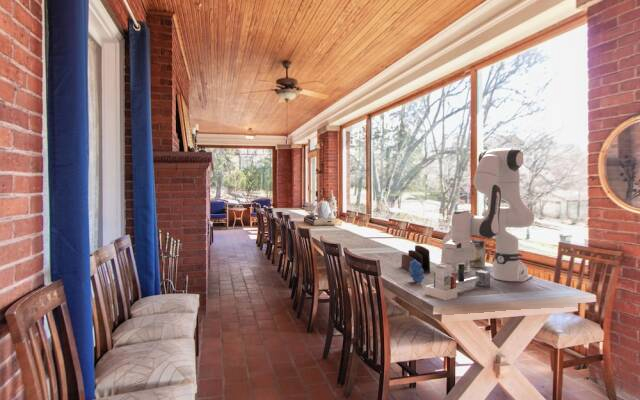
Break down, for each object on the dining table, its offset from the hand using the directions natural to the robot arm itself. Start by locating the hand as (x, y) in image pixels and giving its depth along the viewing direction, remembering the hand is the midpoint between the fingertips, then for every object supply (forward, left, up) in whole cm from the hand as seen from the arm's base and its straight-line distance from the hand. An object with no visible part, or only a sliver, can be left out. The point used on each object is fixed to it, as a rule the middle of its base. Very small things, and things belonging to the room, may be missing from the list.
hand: (460, 271), depth 199 cm
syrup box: (+13, 0, -10) cm, 16 cm away
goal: (+14, 0, -10) cm, 17 cm away
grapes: (+6, -24, -10) cm, 27 cm away
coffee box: (-56, -30, -10) cm, 64 cm away
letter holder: (-18, -46, -10) cm, 50 cm away
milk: (-35, -30, -10) cm, 47 cm away
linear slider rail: (-2, 0, -9) cm, 9 cm away
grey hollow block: (-18, 0, -10) cm, 20 cm away
